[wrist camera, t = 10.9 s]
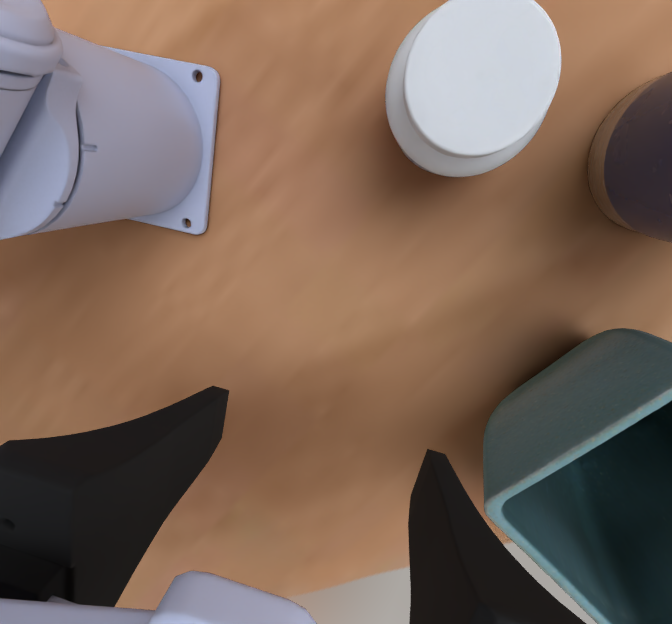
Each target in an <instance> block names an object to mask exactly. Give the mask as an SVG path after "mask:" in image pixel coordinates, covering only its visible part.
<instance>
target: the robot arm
mask: <svg viewBox="0 0 672 624" xmlns="http://www.w3.org/2000/svg"><path fill="white" fill-rule="evenodd" d="M198 72H201V73H202V76H203V77H202V80H201V81H200V82H197V80H196V75H197V73H198ZM219 91H220V76H219V73H218V72H217V71H216V70H215V69H213V68H211V67H209V66H204V65H199V64H194V63H189V62H184V61H178V60H173V59H168V58H163V57H157V56H152V55H147V54H142V53H137V52H131V51H126V50H121V49H116V48H111V47H105V46H100V45H97V44H95V43H92V42H90V41H87V40H85V39H82V38H80V37H77V36H75V35H72V34H70V33H67V32H65V31H62V30H60V29H57V28H55V27H53V25H52V23H51V20H50V18H49V15H48V13H47V11H46V8H45V7H44V5H43V3H42V2H41V0H0V240H2V239H6V238H12V237H18V236H24V235H30V234H36V233H42V232H48V231H54V230H60V229H66V228H72V227H78V226H84V225H90V224H96V223H103V222H109V221H115V220H121V219H130V220H135V221H139V222H143V223H148V224H152V225H156V226H160V227H165V228H169V229H173V230H178V231H182V232H186V233H190V234H195V235H199V234H202V233H204V232H205V231H206V229H207V223H208V212H209V201H210V190H211V179H212V168H213V157H214V146H215V135H216V124H217V113H218V102H219ZM186 219H189V220H190V221H191V226H190V227H188V226H187V225H186V222H185V221H186ZM228 395H229V390H226V389H223V388H219V387H216V386H212V387H209V388H207V389H205V390H203V391H201V392H198V393H196V394H194V395H192V396H190V397H188V398H186V399H184V400H181V401H179V402H177V403H175V404H173V405H170V406H168V407H166V408H163V409H161V410H158V411H156V412H153V413H151V414H148V415H146V416H143V417H140V418H137V419H134V420H131V421H128V422H124V423H121V424H118V425H114V426H110V427H106V428H101V429H97V430H92V431H88V432H83V433H77V434H71V435H65V436H58V437H50V438H39V439H26V440H10V441H7V442H6V443H4V444H3V445H1V446H0V624H317V623H316V622H315V621H314V619H313V618H312V617H311V615H310V614H309V613H308V611H307V610H306V609H305V608H303V607H302V606H300V605H298V604H296V603H295V602H293V601H291V600H289V599H286V598H283V597H280V596H277V595H274V594H271V593H268V592H265V591H262V590H259V589H256V588H253V587H250V586H247V585H244V584H241V583H238V582H236V581H233V580H230V579H227V578H224V577H221V576H218V575H215V574H212V573H207V572H199V571H189V572H186V573H184V574H181V575H178V576H176V577H175V578H174V580H173V582H172V583H171V585H170V587H169V588H168V590H167V592H166V594H165V595H164V597H163V599H162V600H161V602H160V604H159V606H158V607H157V609H156V610H144V609H131V608H118V607H115V605H116V603H117V601H118V599H119V598H120V596H121V594H122V592H123V590H124V589H125V587H126V585H127V583H128V581H129V580H130V578H131V576H132V574H133V573H134V571H135V569H136V567H137V566H138V564H139V562H140V560H141V559H142V557H143V555H144V554H145V552H146V550H147V548H148V547H149V545H150V543H151V542H152V540H153V539H154V537H155V535H156V534H157V532H158V530H159V529H160V527H161V525H162V524H163V522H164V521H165V519H166V518H167V516H168V515H169V513H170V512H171V511H172V509H173V508H174V507H175V505H176V504H177V503H178V501H179V500H180V499H181V497H182V496H183V495H184V493H185V492H186V491H187V489H188V488H189V487H190V485H191V484H192V483H193V481H194V480H195V479H196V477H197V476H198V475H199V473H200V472H201V471H202V469H203V468H204V467H205V465H206V464H207V463H208V461H209V460H210V458H211V456H212V454H213V453H214V451H215V449H216V447H217V446H218V444H219V442H220V440H221V438H222V433H223V427H224V420H225V414H226V408H227V401H228ZM408 528H409V556H410V580H411V607H410V624H586V623H585V622H583V621H582V620H581V619H580V618H579V617H577V616H576V615H575V614H574V613H572V612H571V611H570V610H569V609H568V608H566V607H565V606H564V605H563V604H561V603H560V602H559V601H558V600H557V599H556V598H554V597H553V596H552V595H551V594H550V593H549V592H548V591H547V590H546V589H545V588H543V587H542V586H541V585H540V584H539V583H538V582H537V581H536V580H535V579H534V578H533V577H532V576H531V575H530V574H529V573H528V572H527V571H526V570H525V569H524V568H523V567H522V566H521V564H520V563H519V562H518V561H517V560H515V558H514V557H513V556H512V555H511V553H510V552H509V551H508V550H507V549H506V548H505V547H504V545H503V544H502V543H501V542H500V540H499V539H498V538H497V537H496V535H495V534H494V533H493V532H492V530H491V529H490V528H489V526H488V525H487V523H486V522H485V521H484V519H483V518H482V516H481V515H480V513H479V512H478V510H477V509H476V507H475V506H474V504H473V503H472V501H471V499H470V498H469V496H468V494H467V493H466V491H465V489H464V488H463V486H462V484H461V482H460V480H459V479H458V477H457V475H456V473H455V471H454V469H453V468H452V466H451V464H450V462H449V460H448V458H447V457H446V455H445V454H443V453H440V452H436V451H433V450H429V449H427V452H426V455H425V457H424V460H423V463H422V466H421V468H420V471H419V474H418V477H417V480H416V482H415V485H414V488H413V491H412V494H411V499H410V509H409V522H408Z"/></svg>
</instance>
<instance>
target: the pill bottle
mask: <svg viewBox="0 0 672 624" xmlns="http://www.w3.org/2000/svg"><path fill="white" fill-rule="evenodd" d="M560 71H561V48H560V43H559V39H558V36H557V32H556V29H555V27H554V25H553V23H552V21H551V19H550V18H549V16H548V15H547V13H546V12H545V11H544V10H543V8H542V7H541V6H540V5H539V4H537V3H536V2H535V1H534V0H449V1H447V2H446V3H445V4H443V5H442V6H440V7H438V8H437V9H435V10H433V11H432V12H431V13H429V14H428V15H427V16H425V17H424V18H423V19H422V20H421V21H419V22H418V23H417V24H416V25H415V27H414V28H413V29H412V30H411V31H410V32H409V33H408V35H407V36H406V37H405V39H404V40H403V42H402V43H401V45H400V47H399V48H398V50H397V52H396V54H395V56H394V59H393V61H392V63H391V67H390V70H389V74H388V78H387V84H386V94H385V100H386V101H385V102H386V111H387V117H388V121H389V125H390V128H391V131H392V133H393V135H394V137H395V140H396V141H397V142H398V144H399V146H400V148H401V150H402V151H403V153H404V154H405V156H406V157H407V158H408V159H409V160H410V161H411V162H413V163H414V164H415V165H417V166H418V167H420V168H421V169H424V170H426V171H428V172H431V173H435V174H438V175H442V176H447V177H468V176H474V175H479V174H483V173H485V172H488V171H491V170H493V169H495V168H497V167H499V166H501V165H503V164H504V163H506V162H508V161H509V160H510V159H512V158H513V157H514V156H516V155H517V154H518V153H519V152H520V151H521V150H522V149H523V148H524V147H525V146H526V145H527V144H528V143H529V142H530V140H531V139H532V138H533V137H534V135H535V134H536V132H537V131H538V129H539V127H540V126H541V124H542V122H543V120H544V118H545V116H546V113H547V111H548V108H549V106H550V104H551V102H552V99H553V97H554V95H555V92H556V89H557V86H558V82H559V78H560Z"/></svg>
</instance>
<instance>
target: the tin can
mask: <svg viewBox="0 0 672 624" xmlns="http://www.w3.org/2000/svg"><path fill="white" fill-rule="evenodd" d="M587 173H588V182H589V186H590V190H591V193H592V195H593V198H594V200H595V202H596V203H597V205H598V207H599V208H600V209H601V210H602V212H603V213H604V214H605V215H606V216H607V217H608V218H610V219H611V220H612V221H613V222H615V223H617V224H618V225H620V226H622V227H624V228H627V229H629V230H633V231H636V232H640V233H642V234H645V235H647V236H649V237H653V238H656V239H660V240H663V241H667V242H670V243H672V72H670V73H668V74H666V75H663V76H660V77H658V78H656V79H653V80H651V81H649V82H647V83H645V84H643V85H641V86H640V87H638V88H637V89H635V90H634V91H632V92H631V93H629V94H628V95H627V96H626V97H625V98H623V99H622V100H621V101H620V102H619V103H618V104H617V105H616V106H615V107H614V108H613V109H612V110H611V111H610V113H609V114H608V115H607V117H606V118H605V119H604V121H603V122H602V124H601V126H600V128H599V129H598V131H597V133H596V135H595V138H594V140H593V143H592V146H591V149H590V153H589V159H588V172H587Z"/></svg>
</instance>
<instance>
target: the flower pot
mask: <svg viewBox="0 0 672 624" xmlns="http://www.w3.org/2000/svg"><path fill="white" fill-rule="evenodd" d="M483 477H484V511H485V513H486V515H487V516H488V517H489V518H490V520H491V521H492V522H493V523H494V524H495V525H496V526H497V527H498V528H500V529H501V530H502V531H503V532H504V533H505V534H506V535H507V536H508V537H509V538H510V539H511V540H512V541H513V542H514V543H515V544H517V546H518V547H519V548H520V549H522V550H523V551H524V552H525V553H526V554H527V555H528V556H529V557H530V558H531V559H532V560H533V561H534V562H535V563H536V564H537V565H538V566H539V567H540V568H541V569H542V570H543V571H544V572H545V573H546V574H547V575H549V576H550V577H551V578H552V579H553V580H554V581H555V582H556V583H557V584H558V585H559V586H560V587H561V588H562V589H563V590H564V591H565V592H566V593H567V594H568V595H569V596H570V597H571V598H572V599H573V600H574V601H575V602H576V603H577V604H578V605H579V606H580V607H581V608H582V609H583V610H584V611H585V612H586V613H587V614H588V615H589V616H590V617H591V618H592V619H593V620H594V621H595V622H596V623H597V624H672V343H671V342H669V341H667V340H664V339H662V338H659V337H657V336H654V335H652V334H649V333H646V332H643V331H639V330H634V329H625V328H621V329H611V330H607V331H604V332H601V333H598V334H596V335H594V336H592V337H591V338H589V339H587V340H585V341H583V342H582V343H581V344H579V345H578V346H576V347H575V348H574V349H572V350H571V351H569V352H568V353H567V354H565V355H564V356H562V357H561V358H560V359H558V360H557V361H555V362H554V363H553V364H551V365H550V366H548V367H547V368H545V369H544V370H543V371H541V372H540V373H538V374H537V375H535V376H534V377H533V378H531V379H530V380H528V381H527V382H525V383H524V384H522V385H521V386H520V387H518V388H517V389H515V390H514V391H513V392H512V393H511V394H509V395H508V396H507V397H506V398H505V399H504V400H503V401H501V403H500V404H499V405H498V406H497V407H496V408H495V410H494V411H493V413H492V414H491V416H490V418H489V420H488V422H487V425H486V428H485V432H484V441H483Z"/></svg>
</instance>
